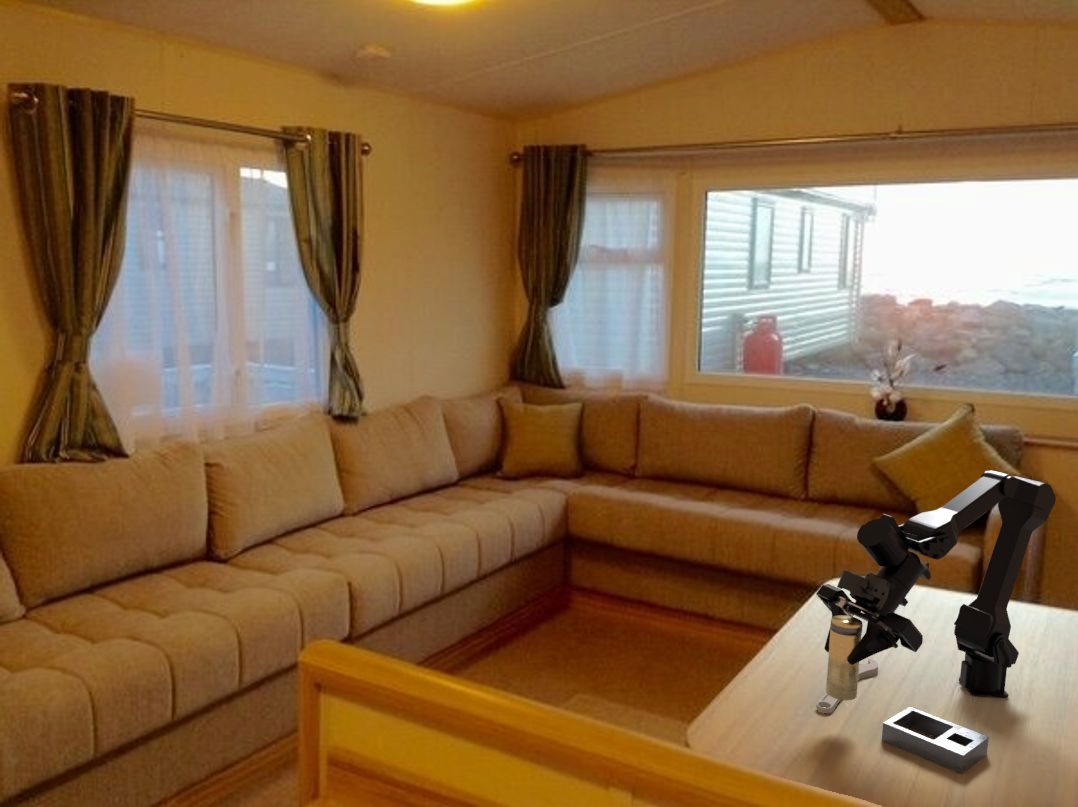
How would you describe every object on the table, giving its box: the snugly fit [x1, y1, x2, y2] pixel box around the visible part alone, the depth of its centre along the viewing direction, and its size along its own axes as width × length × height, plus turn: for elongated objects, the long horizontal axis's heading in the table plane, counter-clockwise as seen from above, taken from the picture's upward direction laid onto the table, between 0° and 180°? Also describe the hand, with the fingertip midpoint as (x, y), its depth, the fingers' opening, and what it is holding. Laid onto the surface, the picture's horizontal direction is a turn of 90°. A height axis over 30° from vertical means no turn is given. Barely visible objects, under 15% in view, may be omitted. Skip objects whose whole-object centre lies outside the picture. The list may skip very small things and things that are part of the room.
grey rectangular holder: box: [881, 706, 990, 775], centre depth 146 cm, size 13×9×3 cm
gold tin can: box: [825, 615, 864, 701], centre depth 150 cm, size 5×5×12 cm
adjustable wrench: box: [815, 658, 879, 714], centre depth 167 cm, size 25×6×2 cm, turn 140°
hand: (837, 656), depth 150 cm, fingers closed on gold tin can, 5 cm apart
